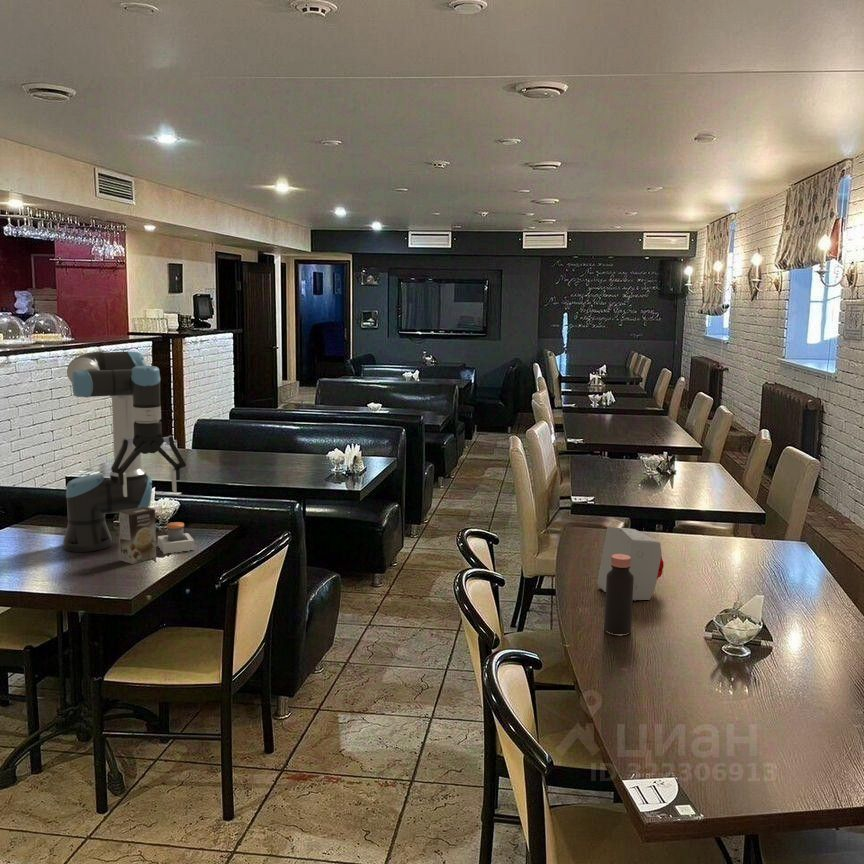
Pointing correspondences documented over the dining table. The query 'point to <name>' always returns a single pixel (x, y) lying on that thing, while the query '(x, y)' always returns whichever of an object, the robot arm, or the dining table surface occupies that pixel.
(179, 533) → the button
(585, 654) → the dining table surface
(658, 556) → the electrical switch box
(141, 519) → the coffee box
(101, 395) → the robot arm
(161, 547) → the breaker housing
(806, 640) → the dining table surface
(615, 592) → the bottle
